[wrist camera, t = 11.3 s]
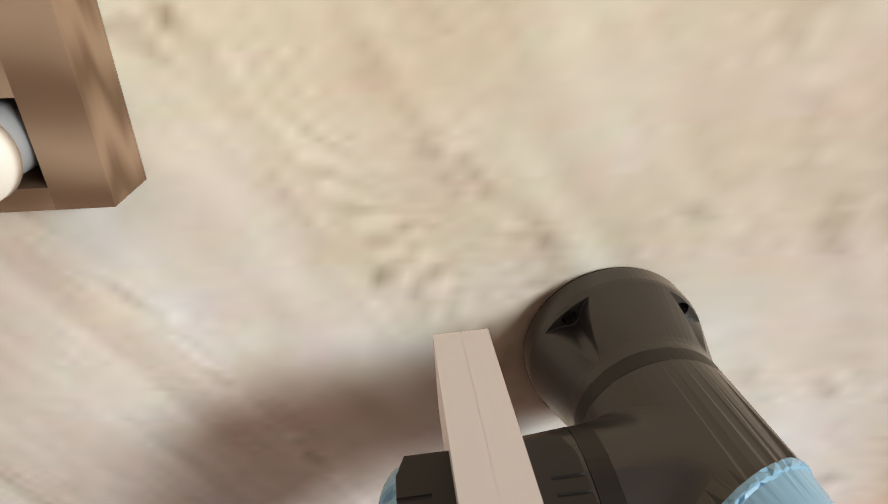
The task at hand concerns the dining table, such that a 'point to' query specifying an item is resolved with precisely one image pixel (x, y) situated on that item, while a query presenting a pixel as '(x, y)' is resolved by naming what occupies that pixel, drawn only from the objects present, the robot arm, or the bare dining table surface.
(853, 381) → the dining table surface
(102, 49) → the panel
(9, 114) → the knob
